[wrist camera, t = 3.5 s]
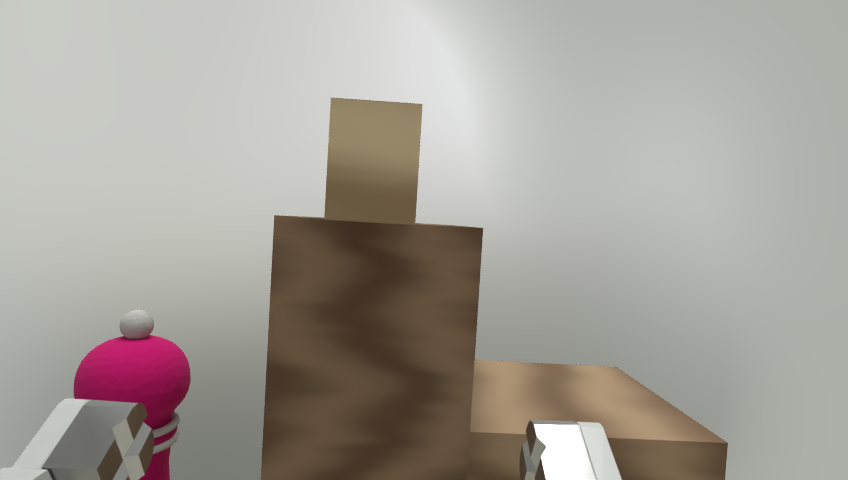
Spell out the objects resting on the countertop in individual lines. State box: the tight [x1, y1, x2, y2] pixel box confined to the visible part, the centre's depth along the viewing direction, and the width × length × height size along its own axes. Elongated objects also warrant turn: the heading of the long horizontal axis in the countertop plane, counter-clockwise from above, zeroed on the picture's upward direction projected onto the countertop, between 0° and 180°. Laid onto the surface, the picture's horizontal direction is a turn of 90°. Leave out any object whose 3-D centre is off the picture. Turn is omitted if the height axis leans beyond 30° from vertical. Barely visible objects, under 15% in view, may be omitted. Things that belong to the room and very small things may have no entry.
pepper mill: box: [74, 310, 190, 480], centre depth 32 cm, size 7×7×20 cm
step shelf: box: [261, 216, 728, 480], centre depth 34 cm, size 23×14×26 cm, turn 92°
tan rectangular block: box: [324, 98, 422, 225], centre depth 27 cm, size 18×3×4 cm, turn 2°
